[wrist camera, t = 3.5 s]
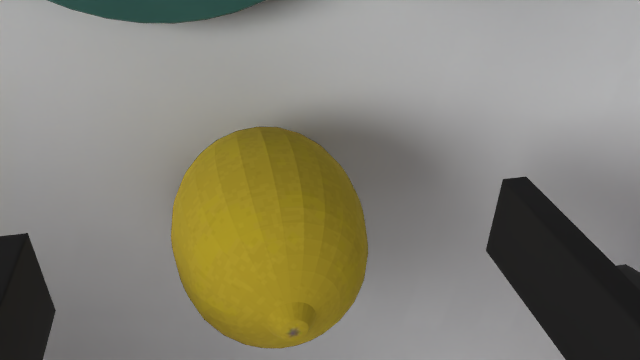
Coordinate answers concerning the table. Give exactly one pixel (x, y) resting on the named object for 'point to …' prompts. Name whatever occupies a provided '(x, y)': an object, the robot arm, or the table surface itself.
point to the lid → (157, 9)
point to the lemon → (269, 237)
